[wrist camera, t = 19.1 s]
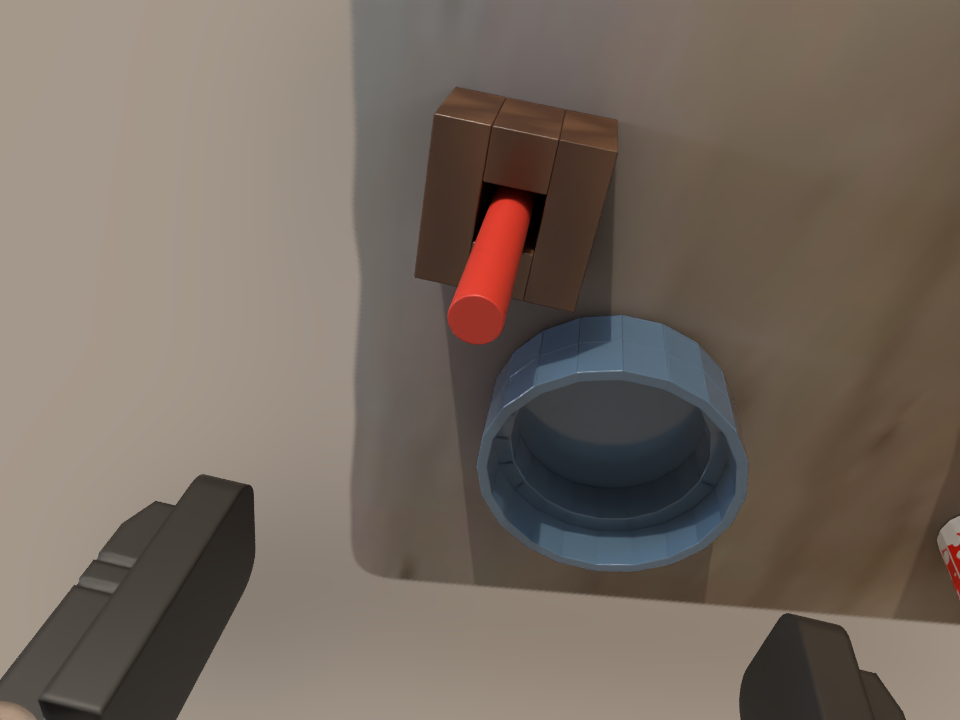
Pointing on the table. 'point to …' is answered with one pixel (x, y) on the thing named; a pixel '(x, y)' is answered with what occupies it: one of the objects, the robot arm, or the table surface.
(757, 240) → the table surface
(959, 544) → the beverage cup
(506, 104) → the holder
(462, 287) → the stick
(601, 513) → the bowl
